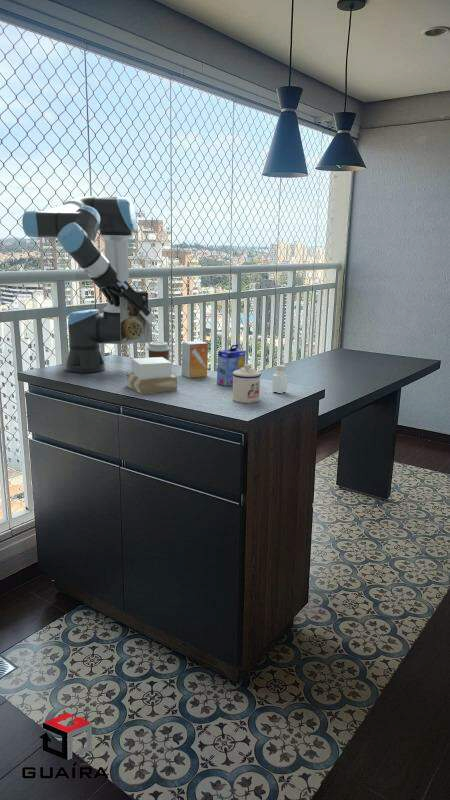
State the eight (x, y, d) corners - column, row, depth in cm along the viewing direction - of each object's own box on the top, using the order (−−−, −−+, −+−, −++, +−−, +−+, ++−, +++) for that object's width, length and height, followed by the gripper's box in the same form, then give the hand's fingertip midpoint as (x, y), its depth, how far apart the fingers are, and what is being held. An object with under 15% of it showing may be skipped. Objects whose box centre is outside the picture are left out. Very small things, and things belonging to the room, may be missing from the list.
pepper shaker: (280, 394, 189) (282, 367, 187) (271, 392, 192) (272, 365, 190) (287, 392, 192) (288, 365, 190) (277, 390, 195) (279, 363, 193)
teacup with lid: (251, 405, 175) (252, 368, 172) (226, 400, 179) (227, 365, 176) (268, 397, 185) (270, 363, 182) (244, 393, 189) (245, 359, 186)
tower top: (132, 372, 196) (131, 358, 194) (162, 370, 200) (162, 357, 199) (139, 379, 186) (139, 364, 185) (171, 377, 190) (171, 362, 189)
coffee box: (148, 340, 186) (148, 291, 182) (148, 343, 179) (148, 292, 175) (120, 340, 184) (119, 290, 180) (120, 343, 178) (119, 291, 174)
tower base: (127, 386, 196) (127, 372, 195) (161, 383, 202) (161, 370, 201) (141, 395, 185) (141, 380, 184) (176, 391, 192) (177, 377, 190)
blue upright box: (227, 386, 198) (228, 346, 195) (215, 384, 202) (216, 344, 198) (245, 382, 206) (246, 343, 202) (234, 380, 209) (235, 341, 206)
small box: (189, 378, 210) (189, 344, 207) (181, 375, 215) (181, 341, 212) (207, 376, 214) (208, 342, 211) (199, 373, 220) (199, 340, 216)
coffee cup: (171, 371, 221) (171, 341, 218) (168, 376, 212) (168, 345, 209) (148, 370, 221) (148, 340, 218) (145, 375, 212) (144, 344, 209)
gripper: (72, 277, 174) (115, 324, 189) (114, 281, 158) (157, 332, 173) (86, 260, 176) (127, 308, 191) (129, 262, 161) (170, 314, 176)
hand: (142, 319), depth 182 cm, fingers closed on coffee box, 10 cm apart
